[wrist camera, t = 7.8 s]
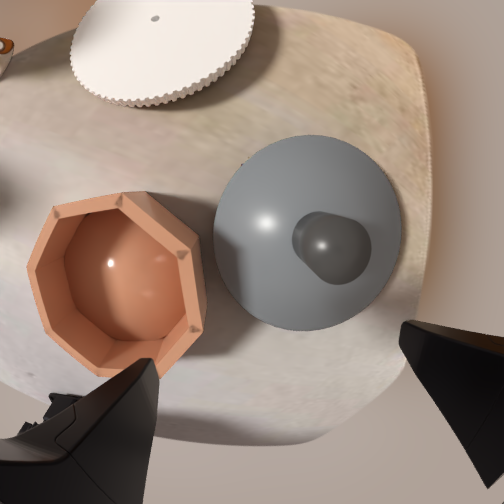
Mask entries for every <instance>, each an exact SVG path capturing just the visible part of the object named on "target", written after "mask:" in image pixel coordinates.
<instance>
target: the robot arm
mask: <svg viewBox="0 0 504 504" xmlns="http://www.w3.org/2000/svg"><path fill="white" fill-rule="evenodd" d="M399 346H400V348H401V350H402V352H403V353H404V355H405V357H406V359H407V360H408V362H409V364H410V366H411V367H412V369H413V371H414V373H415V375H416V376H417V378H418V379H419V380H420V382H421V383H422V385H423V386H424V388H425V389H426V390H427V392H428V393H429V395H430V396H431V398H432V399H433V401H434V402H435V404H436V405H437V407H438V408H439V410H440V411H441V413H442V414H443V416H444V417H445V419H446V420H447V422H448V423H449V425H450V426H451V428H452V430H453V431H454V433H455V434H456V436H457V438H458V439H459V441H460V443H461V444H462V446H463V447H464V449H465V450H466V453H467V454H468V456H469V458H470V459H471V461H472V463H473V465H474V467H475V468H476V470H477V472H478V474H479V475H480V477H481V479H482V481H483V483H484V484H485V486H486V487H487V489H489V488H490V487H491V486H492V485H493V484H494V483H495V482H496V481H497V480H499V479H500V478H501V477H502V476H503V475H504V337H499V336H493V335H486V334H482V333H476V332H470V331H465V330H460V329H455V328H450V327H445V326H440V325H435V324H430V323H426V322H420V321H416V320H408V321H405V322H403V323H402V325H401V330H400V336H399ZM158 394H159V376H158V373H157V370H156V366H155V363H154V360H153V359H152V358H140V359H138V360H137V361H135V362H134V363H133V364H131V365H130V366H128V367H127V368H125V369H124V370H123V371H121V372H120V373H118V374H117V375H115V376H114V377H112V378H111V379H109V380H108V381H107V382H105V383H104V384H102V385H101V386H99V387H98V388H96V389H95V390H93V391H92V392H90V393H89V394H87V395H86V396H84V397H83V398H77V397H71V396H65V395H59V394H54V393H50V395H49V398H50V400H51V402H52V404H51V406H50V407H49V409H48V410H47V412H46V413H45V415H44V417H43V419H44V421H43V423H41V424H37V423H36V422H34V424H33V425H32V424H30V423H28V422H25V423H24V425H23V426H22V428H21V430H20V431H19V433H18V434H17V436H15V437H12V438H8V439H0V504H143V496H144V489H145V483H146V476H147V470H148V464H149V458H150V452H151V447H152V441H153V436H154V431H155V425H156V419H157V407H158ZM502 504H504V502H503V503H502Z"/></svg>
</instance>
